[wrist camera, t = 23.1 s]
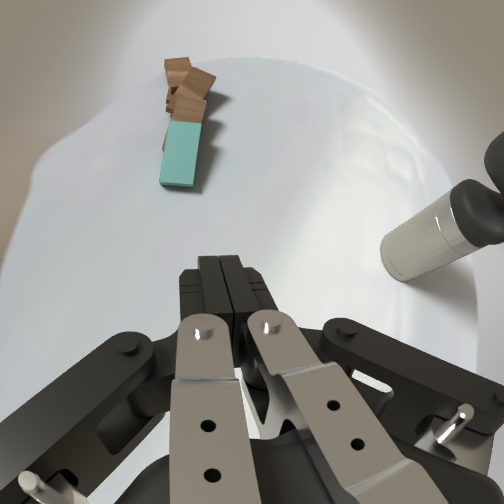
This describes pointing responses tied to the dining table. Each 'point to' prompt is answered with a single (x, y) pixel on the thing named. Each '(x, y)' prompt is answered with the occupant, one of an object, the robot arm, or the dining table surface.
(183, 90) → the tile
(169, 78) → the tile
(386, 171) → the dining table surface
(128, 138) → the dining table surface
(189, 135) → the teal tile
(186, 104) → the tile
